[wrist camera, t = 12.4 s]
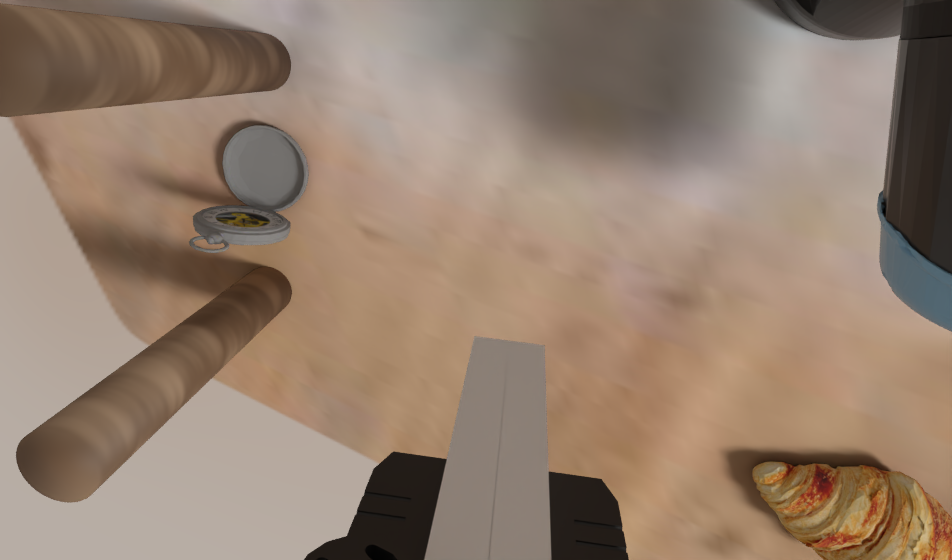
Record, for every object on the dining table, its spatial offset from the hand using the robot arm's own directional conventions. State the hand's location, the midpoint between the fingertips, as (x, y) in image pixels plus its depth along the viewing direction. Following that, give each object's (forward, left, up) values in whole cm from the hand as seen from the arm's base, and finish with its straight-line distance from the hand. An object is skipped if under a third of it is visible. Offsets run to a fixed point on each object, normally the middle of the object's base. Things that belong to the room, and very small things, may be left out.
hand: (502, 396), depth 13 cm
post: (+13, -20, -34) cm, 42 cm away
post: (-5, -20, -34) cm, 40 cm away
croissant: (+26, +32, -35) cm, 54 cm away
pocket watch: (+4, -20, -35) cm, 40 cm away
